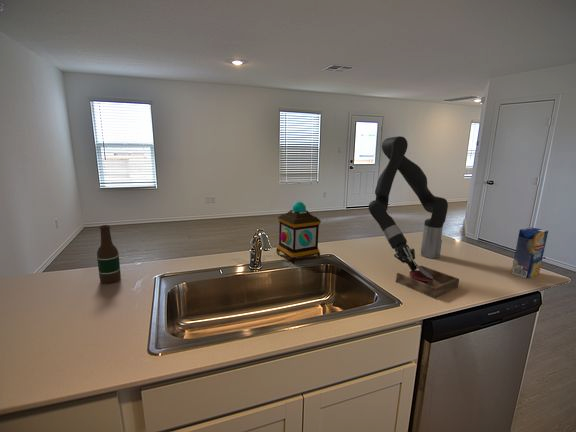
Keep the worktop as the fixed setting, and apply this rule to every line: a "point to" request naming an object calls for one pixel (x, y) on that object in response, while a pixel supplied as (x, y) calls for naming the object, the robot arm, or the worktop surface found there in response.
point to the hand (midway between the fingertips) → (414, 269)
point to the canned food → (421, 275)
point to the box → (428, 290)
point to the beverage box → (529, 252)
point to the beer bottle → (108, 258)
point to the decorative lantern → (298, 233)
